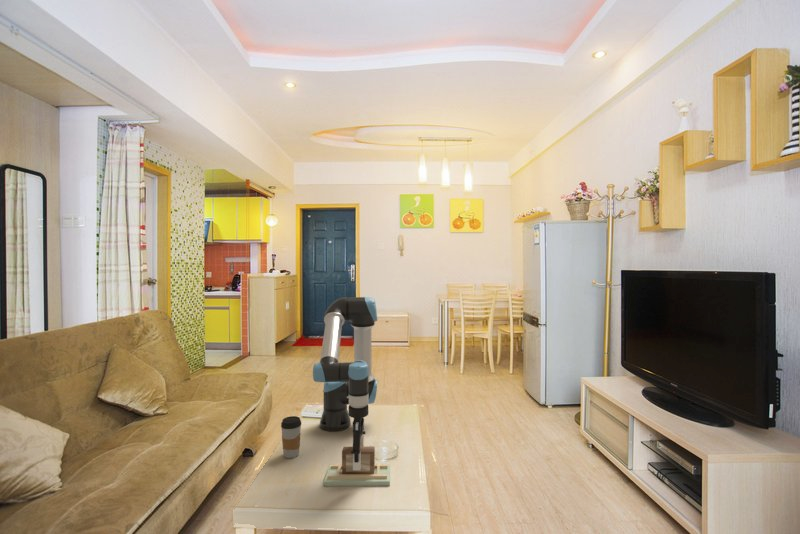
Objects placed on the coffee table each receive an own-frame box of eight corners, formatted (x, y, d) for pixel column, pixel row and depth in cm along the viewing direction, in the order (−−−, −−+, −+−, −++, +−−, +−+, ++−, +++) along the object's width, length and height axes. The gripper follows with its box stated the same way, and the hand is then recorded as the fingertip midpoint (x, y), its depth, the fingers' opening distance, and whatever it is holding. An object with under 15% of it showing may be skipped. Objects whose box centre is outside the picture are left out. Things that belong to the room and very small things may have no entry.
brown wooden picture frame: (343, 469, 150) (343, 446, 150) (374, 469, 150) (374, 446, 150) (342, 475, 146) (342, 451, 145) (374, 475, 146) (374, 451, 146)
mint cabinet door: (329, 468, 153) (329, 461, 153) (390, 468, 154) (390, 460, 154) (324, 485, 141) (323, 477, 141) (389, 485, 142) (389, 477, 142)
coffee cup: (295, 460, 159) (295, 424, 159) (277, 458, 161) (277, 422, 161) (304, 451, 168) (304, 416, 167) (287, 449, 169) (286, 415, 169)
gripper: (352, 393, 160) (352, 445, 160) (344, 417, 135) (344, 478, 135) (370, 393, 160) (370, 444, 160) (365, 417, 135) (365, 478, 135)
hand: (358, 460), depth 148 cm, fingers open, 13 cm apart
